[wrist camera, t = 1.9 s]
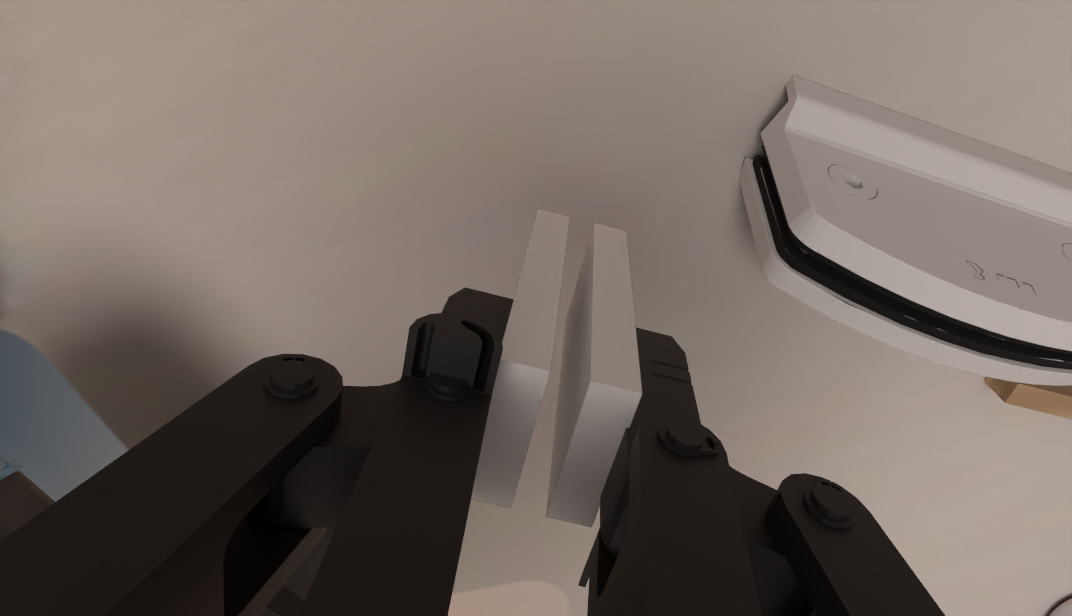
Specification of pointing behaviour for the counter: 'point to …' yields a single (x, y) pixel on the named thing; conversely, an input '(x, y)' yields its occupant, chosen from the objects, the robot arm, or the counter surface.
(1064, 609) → the supplement bottle
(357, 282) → the counter surface
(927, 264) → the grey piece
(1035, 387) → the frame
